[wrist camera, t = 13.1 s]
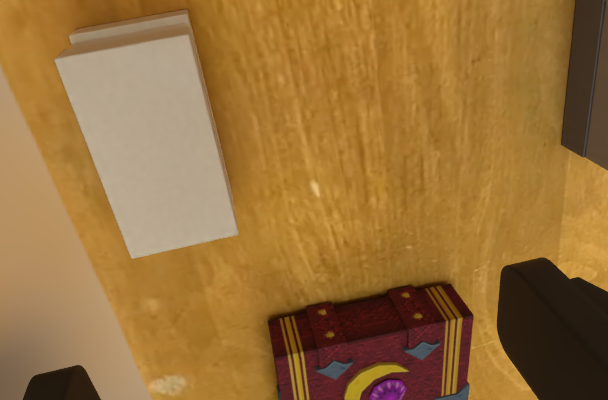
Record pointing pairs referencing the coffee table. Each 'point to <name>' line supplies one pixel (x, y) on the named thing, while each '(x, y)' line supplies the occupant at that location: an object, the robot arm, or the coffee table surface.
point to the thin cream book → (151, 139)
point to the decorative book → (376, 348)
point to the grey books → (588, 84)
